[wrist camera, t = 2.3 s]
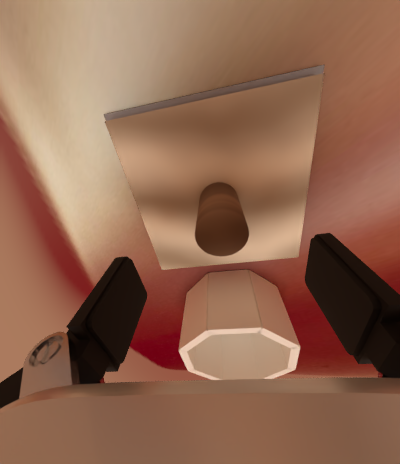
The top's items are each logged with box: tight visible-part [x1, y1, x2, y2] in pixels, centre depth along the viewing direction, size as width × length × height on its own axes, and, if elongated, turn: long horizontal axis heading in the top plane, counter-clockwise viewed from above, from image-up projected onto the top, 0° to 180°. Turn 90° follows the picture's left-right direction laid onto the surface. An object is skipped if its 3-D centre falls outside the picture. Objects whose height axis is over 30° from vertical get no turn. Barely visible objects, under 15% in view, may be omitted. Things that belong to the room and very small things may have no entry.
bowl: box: [179, 269, 300, 380], centre depth 22 cm, size 12×12×7 cm
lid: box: [105, 73, 324, 270], centre depth 13 cm, size 14×14×6 cm
